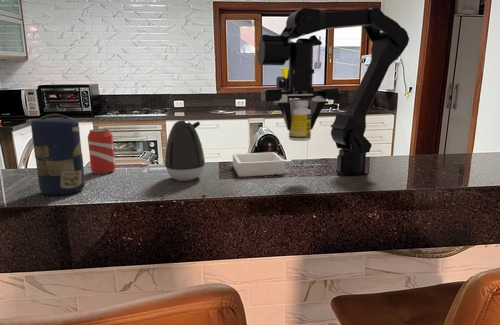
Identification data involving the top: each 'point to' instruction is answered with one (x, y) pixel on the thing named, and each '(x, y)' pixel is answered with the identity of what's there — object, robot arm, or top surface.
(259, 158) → the tray
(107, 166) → the beverage can
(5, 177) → the top surface
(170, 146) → the pump dispenser
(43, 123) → the canister
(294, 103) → the supplement bottle
